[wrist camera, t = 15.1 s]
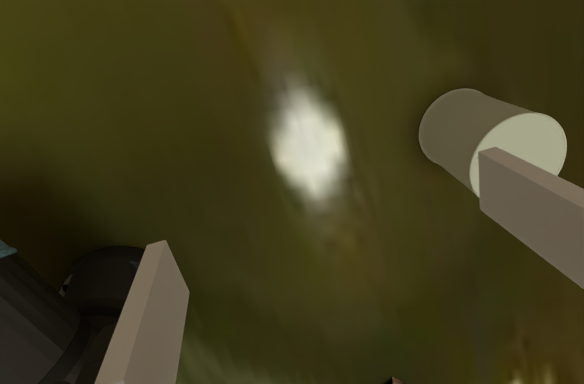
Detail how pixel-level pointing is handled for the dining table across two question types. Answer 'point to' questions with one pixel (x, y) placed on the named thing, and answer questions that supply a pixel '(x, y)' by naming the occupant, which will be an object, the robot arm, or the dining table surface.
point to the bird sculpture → (396, 381)
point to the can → (487, 134)
